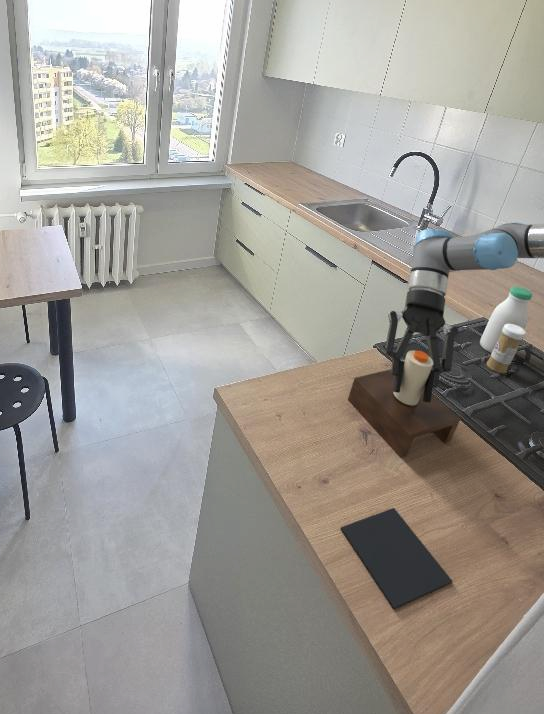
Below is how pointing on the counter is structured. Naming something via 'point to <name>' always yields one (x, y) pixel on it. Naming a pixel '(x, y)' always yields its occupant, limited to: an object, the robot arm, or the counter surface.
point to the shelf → (399, 412)
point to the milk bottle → (506, 316)
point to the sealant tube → (414, 377)
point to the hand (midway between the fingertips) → (411, 396)
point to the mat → (395, 557)
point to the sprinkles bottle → (506, 348)
